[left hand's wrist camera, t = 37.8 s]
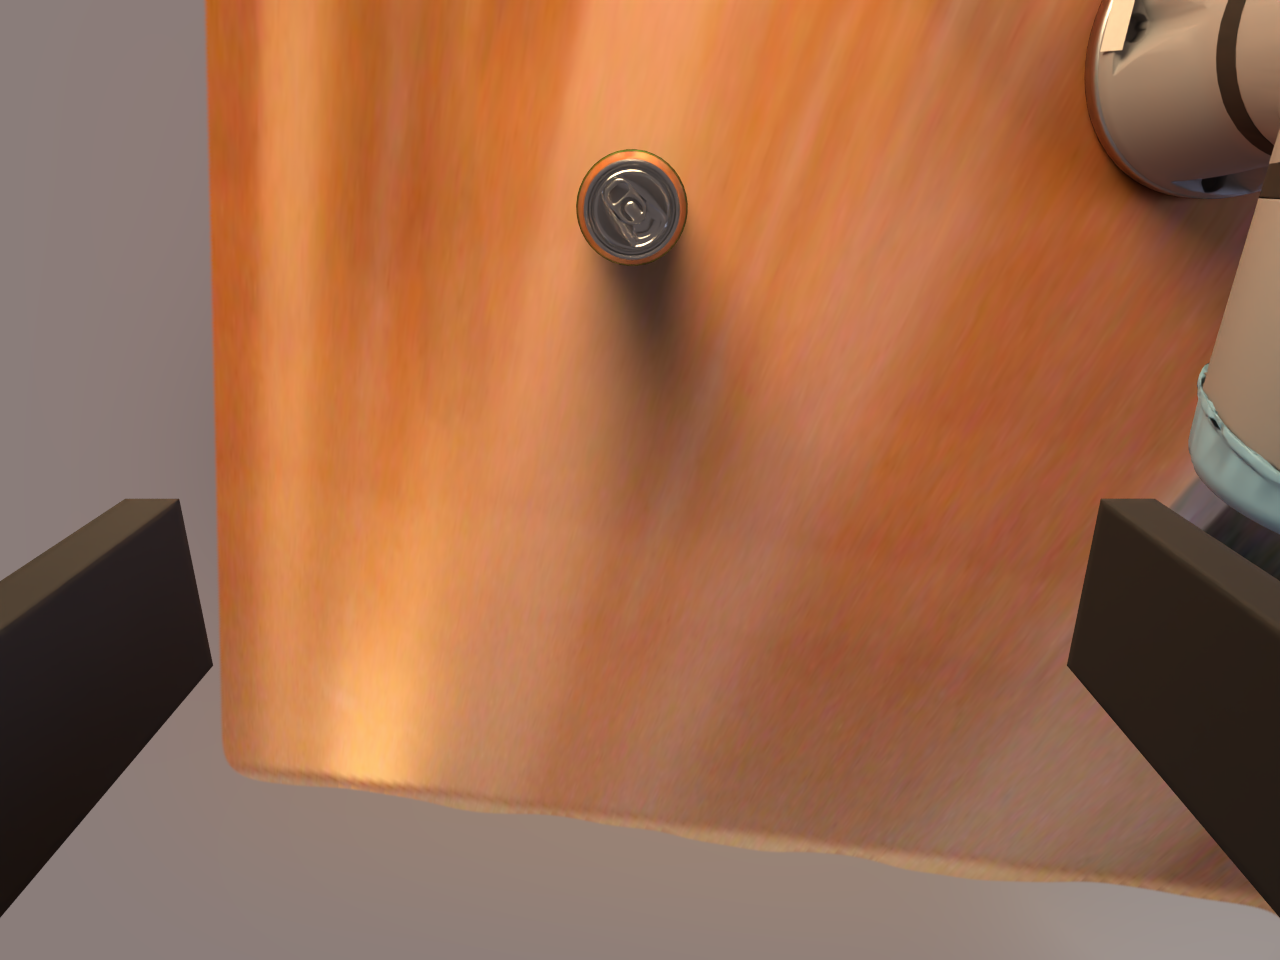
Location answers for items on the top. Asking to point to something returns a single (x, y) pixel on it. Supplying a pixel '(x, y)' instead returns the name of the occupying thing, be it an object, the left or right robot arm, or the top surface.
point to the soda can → (632, 207)
